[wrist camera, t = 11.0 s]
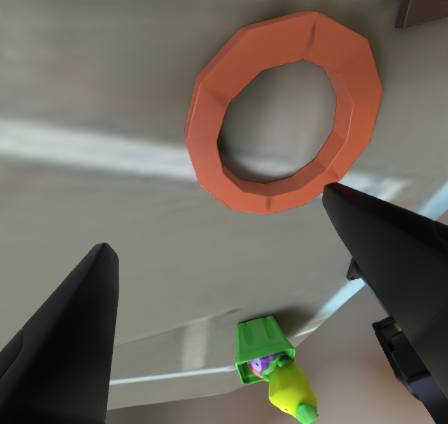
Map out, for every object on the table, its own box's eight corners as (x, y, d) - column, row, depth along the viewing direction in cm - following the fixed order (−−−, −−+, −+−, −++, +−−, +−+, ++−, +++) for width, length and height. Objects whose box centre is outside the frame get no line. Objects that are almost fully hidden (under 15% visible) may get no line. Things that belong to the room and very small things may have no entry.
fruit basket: (226, 321, 31) (247, 436, 23) (289, 306, 31) (332, 414, 23) (236, 348, 39) (253, 441, 30) (286, 336, 39) (318, 425, 31)
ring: (345, 179, 18) (357, 191, 17) (211, 214, 18) (213, 229, 17) (384, -11, 11) (411, -14, 9) (157, 48, 11) (156, 53, 9)
